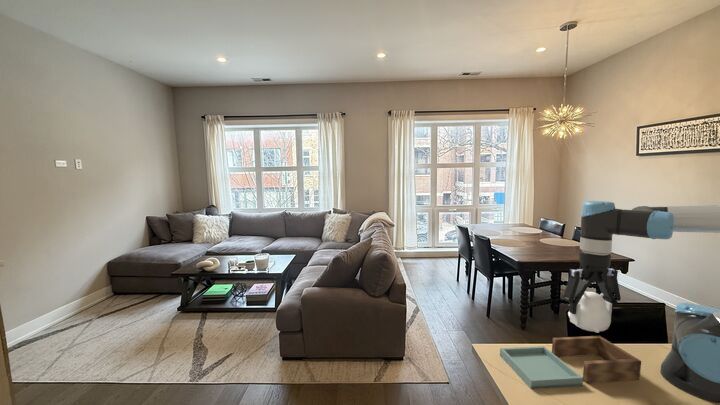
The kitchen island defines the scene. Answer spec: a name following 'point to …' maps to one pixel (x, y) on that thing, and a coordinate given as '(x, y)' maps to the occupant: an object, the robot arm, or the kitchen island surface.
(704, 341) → the robot arm
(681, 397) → the kitchen island surface
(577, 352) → the wooden open box
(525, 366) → the tray
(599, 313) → the figurine
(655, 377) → the kitchen island surface
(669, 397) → the kitchen island surface
